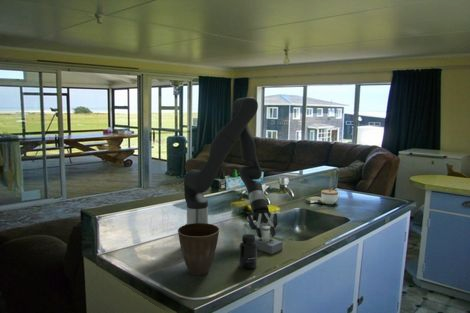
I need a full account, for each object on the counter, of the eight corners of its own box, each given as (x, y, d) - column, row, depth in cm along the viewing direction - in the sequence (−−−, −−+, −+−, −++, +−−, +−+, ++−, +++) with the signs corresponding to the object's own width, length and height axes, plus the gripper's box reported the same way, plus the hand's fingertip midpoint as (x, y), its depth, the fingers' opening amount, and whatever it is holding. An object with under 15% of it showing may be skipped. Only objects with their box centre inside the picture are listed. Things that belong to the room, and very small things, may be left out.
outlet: (272, 254, 150) (272, 246, 149) (248, 245, 159) (248, 238, 158) (282, 249, 155) (282, 241, 154) (259, 241, 164) (259, 234, 163)
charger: (266, 249, 154) (266, 228, 153) (259, 247, 157) (260, 226, 156) (271, 247, 157) (271, 226, 156) (264, 245, 159) (265, 224, 158)
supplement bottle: (251, 272, 133) (251, 240, 131) (235, 267, 136) (235, 237, 135) (260, 265, 139) (260, 235, 137) (244, 261, 142) (245, 231, 141)
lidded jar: (320, 200, 241) (320, 187, 240) (336, 201, 240) (337, 187, 239) (321, 204, 231) (322, 190, 230) (338, 205, 229) (339, 191, 228)
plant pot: (219, 280, 126) (219, 235, 124) (176, 281, 125) (176, 236, 123) (218, 262, 141) (218, 222, 139) (179, 263, 140) (179, 223, 138)
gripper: (244, 199, 159) (253, 234, 149) (275, 197, 163) (285, 231, 153) (241, 207, 165) (249, 242, 155) (270, 205, 169) (280, 239, 159)
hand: (267, 236), depth 154 cm, fingers open, 5 cm apart
